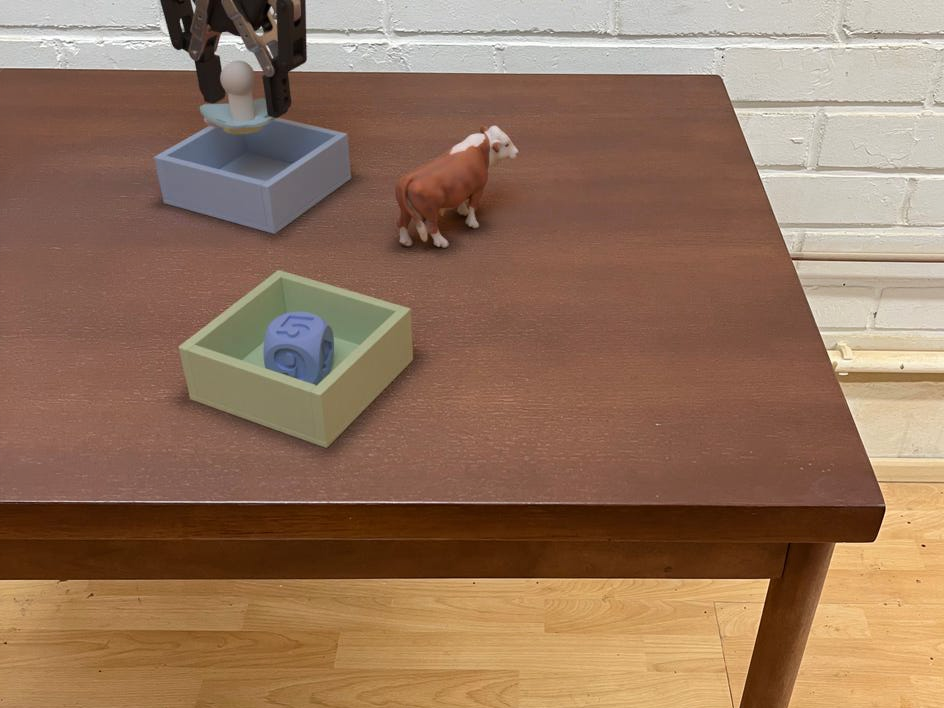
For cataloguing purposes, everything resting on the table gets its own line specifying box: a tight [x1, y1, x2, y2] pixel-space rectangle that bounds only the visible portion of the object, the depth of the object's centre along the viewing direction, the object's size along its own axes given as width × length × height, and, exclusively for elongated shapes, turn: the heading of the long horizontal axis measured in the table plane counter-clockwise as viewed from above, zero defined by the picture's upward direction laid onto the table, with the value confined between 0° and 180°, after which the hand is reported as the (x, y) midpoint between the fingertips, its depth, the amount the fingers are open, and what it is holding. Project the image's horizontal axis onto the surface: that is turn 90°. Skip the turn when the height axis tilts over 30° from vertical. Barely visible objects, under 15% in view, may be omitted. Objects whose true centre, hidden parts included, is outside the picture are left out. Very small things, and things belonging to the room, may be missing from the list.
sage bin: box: [177, 269, 414, 449], centre depth 72 cm, size 12×12×4 cm
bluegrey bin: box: [153, 117, 352, 235], centre depth 94 cm, size 13×13×4 cm
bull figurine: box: [394, 125, 519, 249], centre depth 87 cm, size 4×13×8 cm, turn 135°
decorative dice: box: [263, 312, 334, 385], centre depth 72 cm, size 4×4×4 cm
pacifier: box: [199, 60, 275, 134], centre depth 90 cm, size 7×6×6 cm
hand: (246, 106), depth 90 cm, fingers closed on pacifier, 6 cm apart
